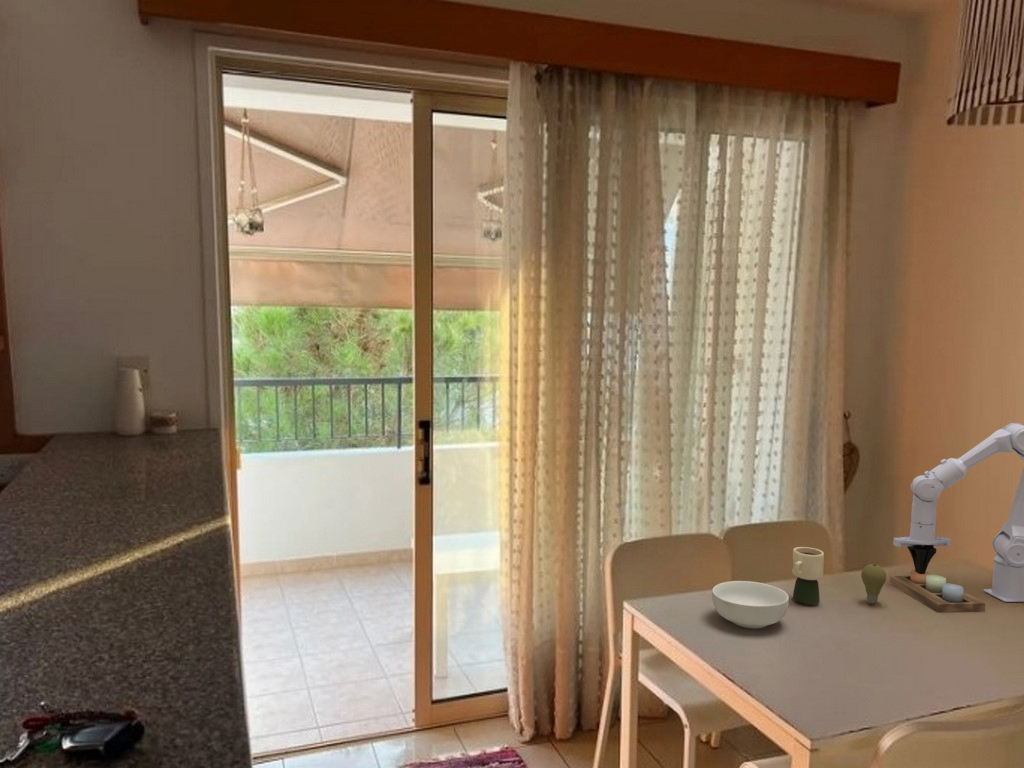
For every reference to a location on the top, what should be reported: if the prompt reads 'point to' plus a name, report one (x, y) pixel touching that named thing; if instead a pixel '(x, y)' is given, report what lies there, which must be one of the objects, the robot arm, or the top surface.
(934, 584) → the sage button
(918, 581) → the orange rounded lump
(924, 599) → the wooden compartment tray
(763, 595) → the cereal bowl
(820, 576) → the character mug
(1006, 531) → the robot arm
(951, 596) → the grey rounded piece
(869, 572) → the light bulb
